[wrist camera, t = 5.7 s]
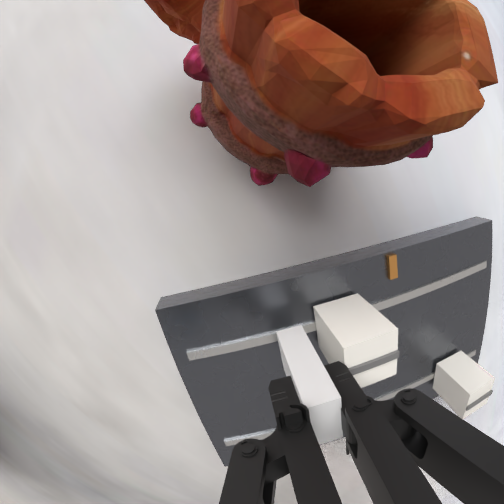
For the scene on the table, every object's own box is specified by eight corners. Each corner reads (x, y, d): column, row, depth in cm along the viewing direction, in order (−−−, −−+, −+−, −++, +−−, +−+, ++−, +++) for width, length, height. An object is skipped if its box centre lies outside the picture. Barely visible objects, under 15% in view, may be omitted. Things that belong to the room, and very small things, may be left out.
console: (223, 450, 23) (224, 468, 21) (160, 297, 19) (154, 312, 17) (464, 365, 25) (476, 375, 22) (476, 216, 21) (494, 220, 18)
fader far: (432, 388, 21) (463, 421, 16) (436, 363, 21) (471, 396, 16) (456, 375, 22) (487, 404, 17) (461, 350, 21) (496, 379, 16)
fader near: (318, 346, 19) (347, 395, 14) (313, 306, 18) (345, 350, 13) (360, 333, 19) (398, 375, 14) (357, 293, 18) (400, 330, 13)
